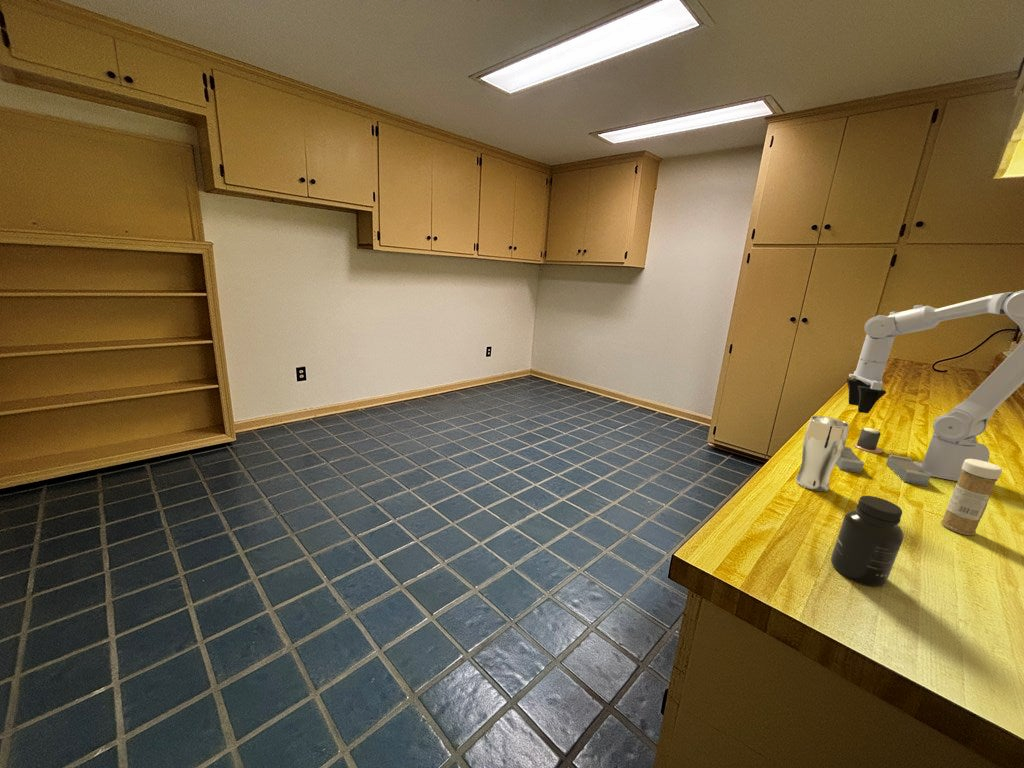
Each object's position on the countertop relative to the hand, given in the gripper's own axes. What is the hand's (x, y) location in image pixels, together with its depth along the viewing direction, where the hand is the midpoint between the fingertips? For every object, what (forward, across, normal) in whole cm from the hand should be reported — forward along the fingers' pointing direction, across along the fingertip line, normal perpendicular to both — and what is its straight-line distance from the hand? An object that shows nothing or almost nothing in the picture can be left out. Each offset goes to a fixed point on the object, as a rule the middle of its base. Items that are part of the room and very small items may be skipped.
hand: (858, 408), depth 113 cm
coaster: (+10, +4, +4) cm, 11 cm away
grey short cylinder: (+10, +4, +3) cm, 11 cm away
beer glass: (+10, +37, -17) cm, 42 cm away
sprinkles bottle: (+10, +43, +5) cm, 44 cm away
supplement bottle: (+10, +67, -17) cm, 70 cm away
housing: (+10, +19, 0) cm, 21 cm away
